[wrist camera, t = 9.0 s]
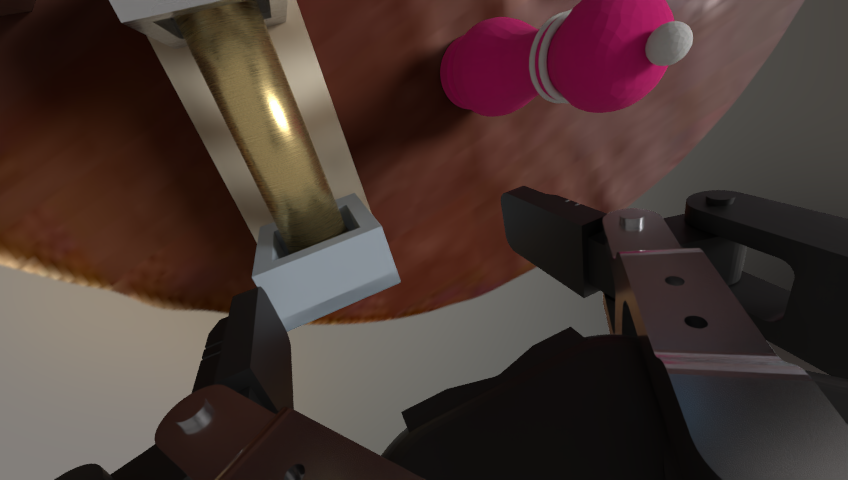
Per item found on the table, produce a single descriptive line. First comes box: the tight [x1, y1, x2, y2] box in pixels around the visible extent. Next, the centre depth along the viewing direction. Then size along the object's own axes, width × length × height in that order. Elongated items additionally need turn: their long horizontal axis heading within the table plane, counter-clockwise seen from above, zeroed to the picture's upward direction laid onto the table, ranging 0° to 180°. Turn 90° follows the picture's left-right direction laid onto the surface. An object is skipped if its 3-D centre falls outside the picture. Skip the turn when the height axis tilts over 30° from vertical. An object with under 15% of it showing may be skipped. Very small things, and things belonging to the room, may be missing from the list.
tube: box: [174, 0, 349, 255], centre depth 23 cm, size 18×5×5 cm, turn 15°
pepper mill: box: [440, 0, 693, 116], centre depth 24 cm, size 7×7×20 cm
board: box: [146, 0, 371, 242], centre depth 28 cm, size 24×10×1 cm, turn 15°
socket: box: [252, 193, 401, 332], centre depth 28 cm, size 4×8×10 cm, turn 105°
